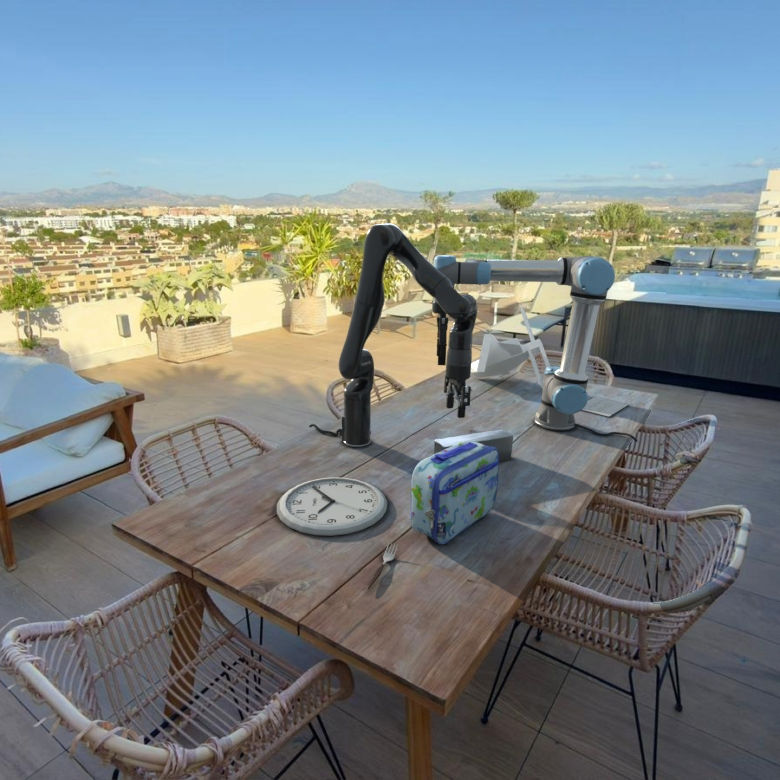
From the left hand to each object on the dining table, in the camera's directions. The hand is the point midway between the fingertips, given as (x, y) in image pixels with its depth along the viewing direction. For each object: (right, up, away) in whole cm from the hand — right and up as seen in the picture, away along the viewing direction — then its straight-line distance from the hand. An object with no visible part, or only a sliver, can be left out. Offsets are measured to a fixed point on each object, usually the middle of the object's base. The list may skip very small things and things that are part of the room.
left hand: (455, 412), depth 162 cm
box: (+7, -16, +9) cm, 20 cm away
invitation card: (+71, 0, +64) cm, 96 cm away
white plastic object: (+38, +10, +94) cm, 102 cm away
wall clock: (-36, -24, -19) cm, 48 cm away
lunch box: (-4, -28, -27) cm, 39 cm away
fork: (-22, -33, -46) cm, 61 cm away
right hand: (-2, +18, +27) cm, 32 cm away
